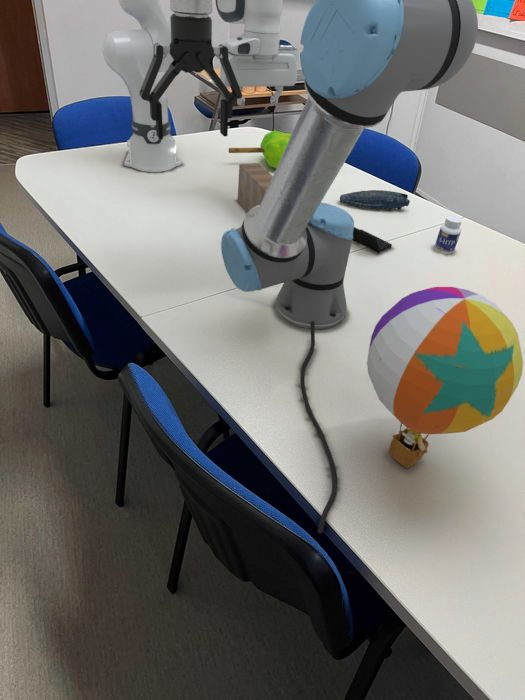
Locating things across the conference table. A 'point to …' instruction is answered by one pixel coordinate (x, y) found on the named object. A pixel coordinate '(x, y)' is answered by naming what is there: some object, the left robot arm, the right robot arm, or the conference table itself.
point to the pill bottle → (448, 235)
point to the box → (252, 185)
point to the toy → (442, 365)
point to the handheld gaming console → (370, 241)
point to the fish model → (376, 199)
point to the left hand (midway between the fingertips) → (257, 104)
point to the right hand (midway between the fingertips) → (192, 135)
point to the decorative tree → (269, 147)
